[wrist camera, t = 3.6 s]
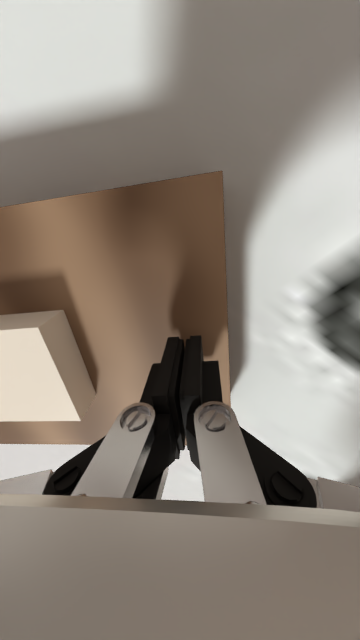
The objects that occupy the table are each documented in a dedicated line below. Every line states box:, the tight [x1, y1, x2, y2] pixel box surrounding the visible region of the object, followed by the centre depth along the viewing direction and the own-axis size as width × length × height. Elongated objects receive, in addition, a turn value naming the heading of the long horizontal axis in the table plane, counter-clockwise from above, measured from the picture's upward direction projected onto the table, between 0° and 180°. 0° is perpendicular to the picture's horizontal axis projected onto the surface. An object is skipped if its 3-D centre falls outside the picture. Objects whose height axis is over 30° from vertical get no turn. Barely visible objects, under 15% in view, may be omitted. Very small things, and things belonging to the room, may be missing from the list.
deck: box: [0, 171, 231, 445], centre depth 15 cm, size 20×16×4 cm
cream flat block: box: [0, 310, 96, 422], centre depth 13 cm, size 9×6×2 cm, turn 97°
